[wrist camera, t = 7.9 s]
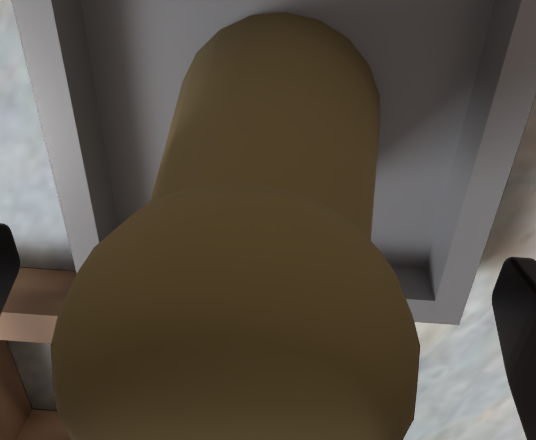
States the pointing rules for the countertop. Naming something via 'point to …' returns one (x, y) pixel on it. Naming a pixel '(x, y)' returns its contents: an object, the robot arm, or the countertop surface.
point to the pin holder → (29, 330)
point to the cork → (248, 263)
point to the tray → (390, 130)
